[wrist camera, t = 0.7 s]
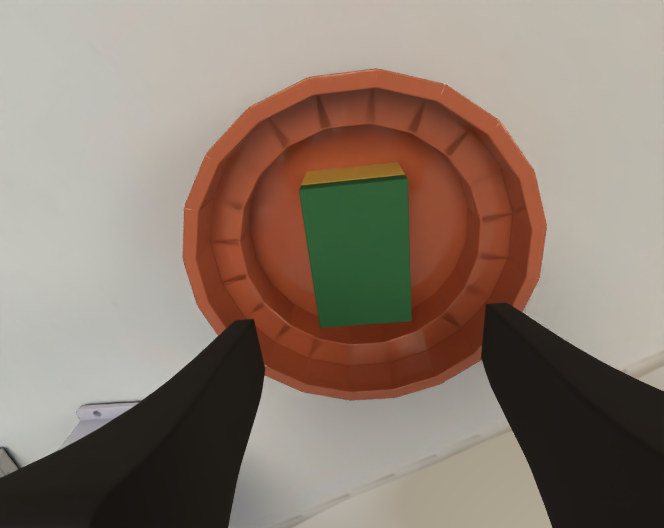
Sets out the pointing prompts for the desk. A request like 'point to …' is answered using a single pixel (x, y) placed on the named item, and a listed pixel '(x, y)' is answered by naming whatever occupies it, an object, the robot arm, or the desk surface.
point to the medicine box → (6, 464)
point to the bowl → (424, 228)
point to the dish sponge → (358, 244)
